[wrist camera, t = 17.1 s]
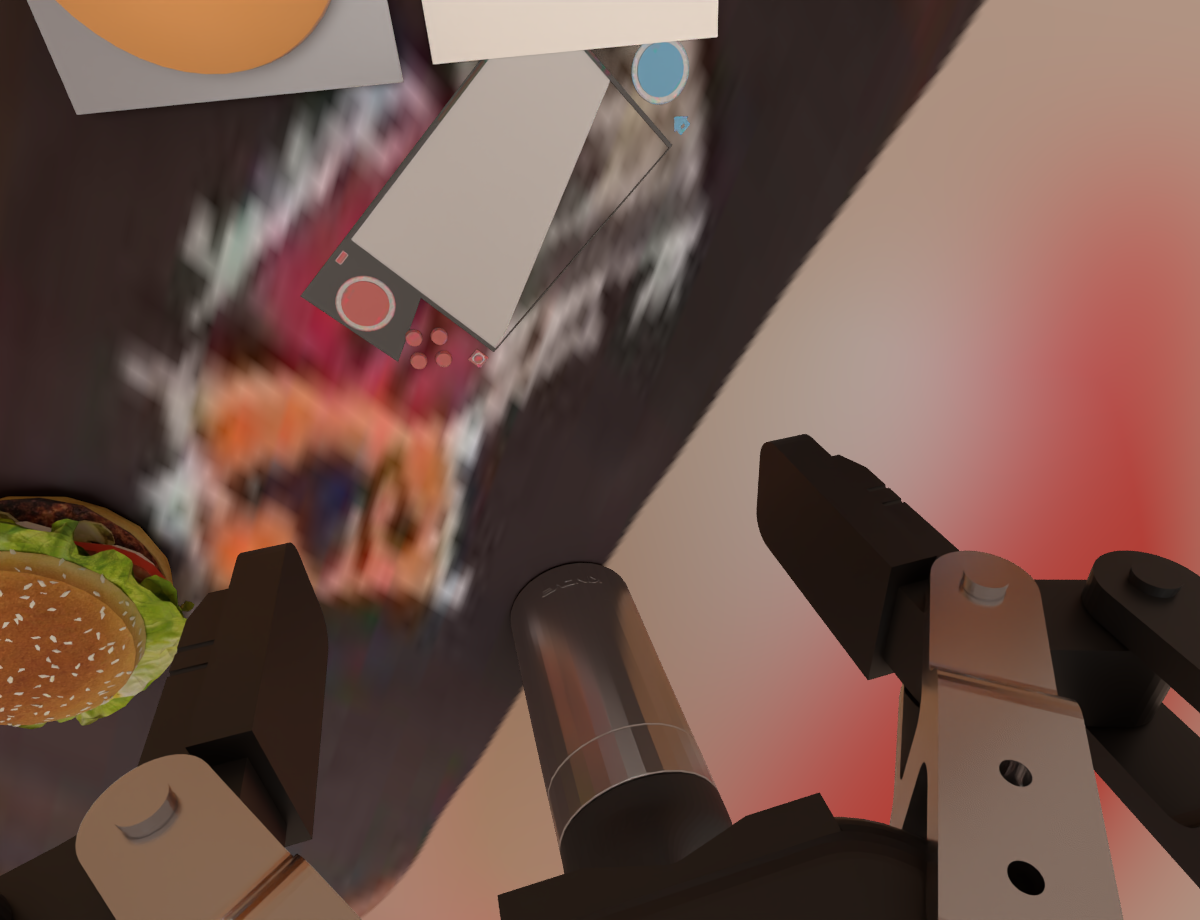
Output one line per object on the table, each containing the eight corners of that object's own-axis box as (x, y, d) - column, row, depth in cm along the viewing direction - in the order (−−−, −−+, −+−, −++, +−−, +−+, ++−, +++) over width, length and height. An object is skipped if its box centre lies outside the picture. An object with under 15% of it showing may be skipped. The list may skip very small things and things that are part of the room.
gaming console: (455, 402, 41) (298, 297, 35) (454, 397, 41) (300, 293, 36) (725, 91, 36) (590, -86, 30) (719, 90, 36) (585, -83, 31)
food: (59, 696, 44) (3, 812, 38) (-158, 552, 36) (-277, 667, 30) (252, 601, 44) (230, 699, 38) (78, 435, 36) (12, 524, 30)
